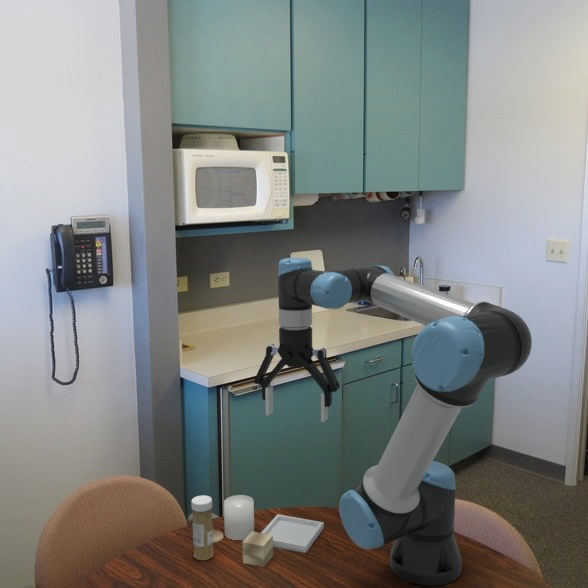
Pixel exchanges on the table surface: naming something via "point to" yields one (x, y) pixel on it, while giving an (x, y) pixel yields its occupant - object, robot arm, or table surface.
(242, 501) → the frosted white cylinder
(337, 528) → the table surface
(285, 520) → the tray
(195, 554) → the sprinkles bottle
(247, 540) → the maple block
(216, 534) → the cork coaster
